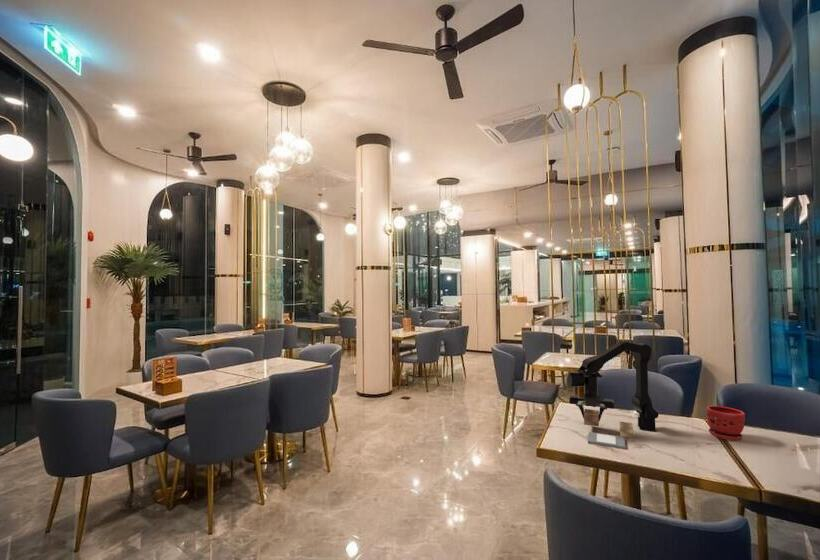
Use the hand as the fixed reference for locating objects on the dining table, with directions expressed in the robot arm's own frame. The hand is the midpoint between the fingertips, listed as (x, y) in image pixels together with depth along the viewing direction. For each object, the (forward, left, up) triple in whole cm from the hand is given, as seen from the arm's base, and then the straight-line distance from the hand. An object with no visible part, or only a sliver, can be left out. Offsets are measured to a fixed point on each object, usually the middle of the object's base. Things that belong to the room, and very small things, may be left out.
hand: (591, 419), depth 180 cm
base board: (-6, +13, -4) cm, 15 cm away
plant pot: (-53, -16, -5) cm, 56 cm away
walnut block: (0, 0, -1) cm, 1 cm away
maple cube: (-14, +1, -4) cm, 15 cm away
